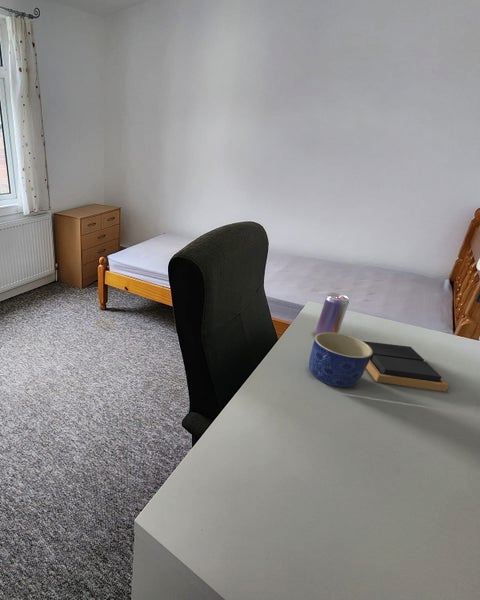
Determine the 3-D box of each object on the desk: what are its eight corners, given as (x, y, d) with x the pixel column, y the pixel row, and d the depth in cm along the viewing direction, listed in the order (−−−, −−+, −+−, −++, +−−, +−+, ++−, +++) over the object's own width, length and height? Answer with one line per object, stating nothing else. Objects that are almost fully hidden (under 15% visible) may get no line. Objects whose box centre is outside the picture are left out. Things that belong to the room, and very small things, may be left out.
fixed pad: (406, 356, 101) (410, 346, 99) (419, 370, 95) (424, 359, 93) (358, 350, 104) (362, 340, 103) (368, 363, 98) (372, 353, 97)
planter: (354, 371, 96) (367, 338, 91) (363, 398, 86) (378, 362, 81) (303, 360, 101) (312, 328, 96) (306, 384, 91) (317, 350, 87)
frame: (409, 356, 101) (412, 349, 100) (444, 393, 87) (449, 385, 86) (351, 349, 106) (353, 342, 104) (375, 382, 91) (379, 375, 90)
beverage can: (318, 341, 110) (331, 300, 104) (311, 332, 115) (323, 292, 109) (338, 343, 109) (353, 301, 102) (331, 334, 114) (344, 293, 108)
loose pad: (420, 371, 94) (425, 361, 93) (436, 387, 88) (441, 376, 87) (369, 364, 97) (373, 354, 96) (380, 379, 91) (385, 369, 90)
